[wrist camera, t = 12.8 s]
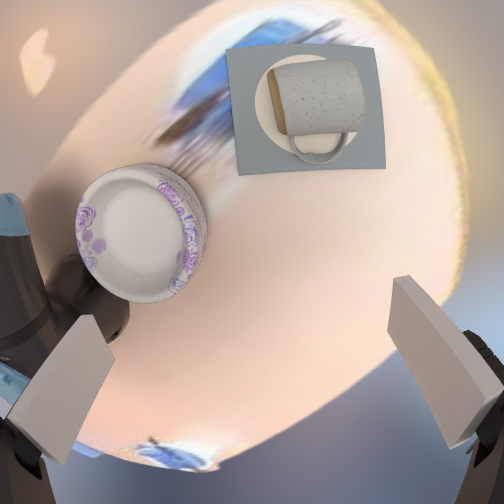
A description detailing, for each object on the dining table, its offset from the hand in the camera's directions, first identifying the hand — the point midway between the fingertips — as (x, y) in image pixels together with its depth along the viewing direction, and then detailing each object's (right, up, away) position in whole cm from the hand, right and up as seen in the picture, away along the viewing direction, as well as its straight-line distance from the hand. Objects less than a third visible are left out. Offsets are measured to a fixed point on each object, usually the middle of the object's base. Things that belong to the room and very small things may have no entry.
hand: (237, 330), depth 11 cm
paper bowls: (-12, +7, +23) cm, 27 cm away
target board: (+7, +20, +17) cm, 27 cm away
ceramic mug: (+7, +18, +16) cm, 25 cm away
